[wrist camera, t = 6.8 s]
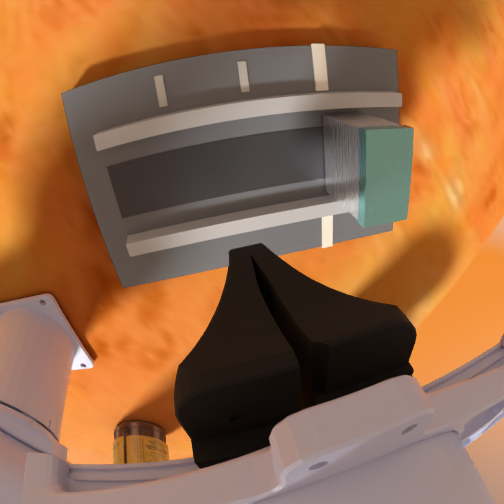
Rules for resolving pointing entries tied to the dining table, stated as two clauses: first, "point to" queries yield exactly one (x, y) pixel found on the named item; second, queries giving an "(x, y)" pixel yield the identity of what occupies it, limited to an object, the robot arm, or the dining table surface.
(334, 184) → the fader tab
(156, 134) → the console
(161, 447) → the sauce bottle
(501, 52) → the dining table surface
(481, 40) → the dining table surface
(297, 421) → the robot arm
